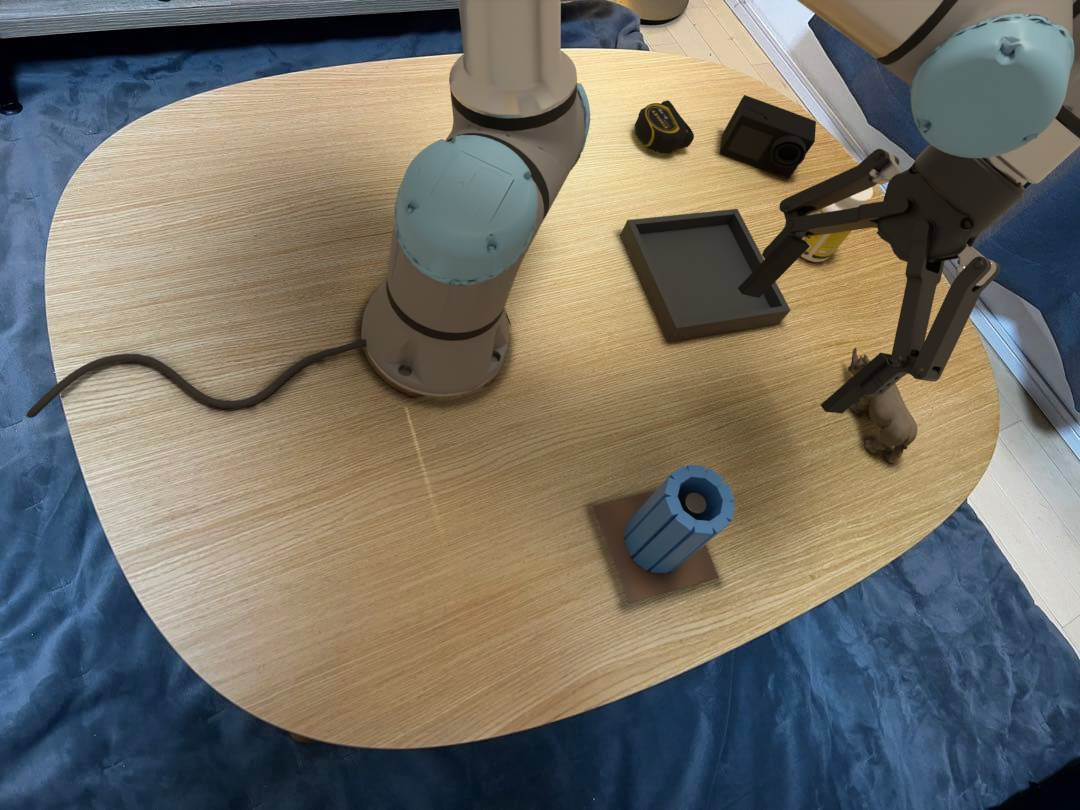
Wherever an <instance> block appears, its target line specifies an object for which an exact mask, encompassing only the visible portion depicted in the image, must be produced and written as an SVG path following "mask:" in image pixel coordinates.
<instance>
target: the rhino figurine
mask: <svg viewBox="0 0 1080 810" xmlns="http://www.w3.org/2000/svg"><path fill="white" fill-rule="evenodd" d="M871 360H872V359H871ZM871 360H870V359H869V357H868V356H867V354H863V355H860V356H859V357H858V353H857V346H855V347H854V348H853V349H852V355H851V361H850V365H848V367H847V371H848V373H849V374H850V375H851V376H852V377H853V376H854V375H855V374H856V373H857V372H859V371H860V370H861V369H862V368H863V367H864V366H865V365H867V364H868V363H869V362H870V361H871ZM868 406H869V407H868ZM867 407H868V408H867ZM866 408H867V412H868V414H869V419H870V420H871V422H872V423H873V424H874V426H876V427H877V428H878V429H880V430H879V433H878V439H875V440H874V439H870V438H868V439H866V440H865V442H864V444H865V445H864V447H865V449H866V450H868V451H869V452H870V453H874V454H875V453H877V452H878V451H884V450H886V449H887V447H888V448H889V447H893V450H888V451H885V453H884V457H885V459H886V460H887V462H889V463H890V464H895V463H896V462H897V460H898V459H900V458H901V457H902V455H903V452H904V450H908V447H909V446H910V445H911V444H912V443H913V442H914V441H915V440H916V438H917V435H918V425H917V422H916V420H915V418H914V417H913V415H912V413H911V412H910V411H909V410H908V409H909V408H907V405H906V403H905V401H904V399H903V397H902V394H901V392H900V389H899V388H898V385H897V382H896V383H895V384H894V385H893V386H891V387H890V388H889V389H887V391H885V392H884V393H883V394H881V395H878V396H869V395H867V394H865V395H864V396H862V397H861V398H860V399H859V400H858V401H857V402H855V403H854V404H853V405H852V406H851V407H849V409H850V410H851V411H853V413H857V414H860V413H862V412H863V410H864V409H866Z"/></svg>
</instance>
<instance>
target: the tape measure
mask: <svg viewBox="0 0 1080 810" xmlns="http://www.w3.org/2000/svg"><path fill="white" fill-rule="evenodd" d="M634 132H635V135H636V138H637V139H638V141H639V142H640V143H641V144H642V145H643V146H644V147H645V148H646V149H648V150H649V151H651V152H653V153H657V154H661V155H662V154H664V155H668V154H672V153H674V152H676V151H678V150H681V149H686V148H688V147H690V146H691V145H692V143H693V142H694V141H693V140H694V139H695V134H694V131H693V130H692V129H691V127H690V126H689V124H688V123H687V122H686V121H685V120H684V119H683V117H682V116H681V114H680V113H679V112H678V111H677V109H676V107H675V106H674V105H673V103H672V102H671V101H670V100H668V99H666V100H663V101H661V103H660V102H652V103H650V104H647V105H646V106H645V107H643V108H641V109H640V111H639V112H638V117H637V119H636V121H635V124H634Z"/></svg>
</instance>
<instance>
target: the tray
mask: <svg viewBox="0 0 1080 810" xmlns="http://www.w3.org/2000/svg"><path fill="white" fill-rule="evenodd" d="M619 236H620V238H621V240H622V242H623V244H624V247H625V250H626V252H627V254H628V256H629V259H630V261H631V262H632V265H633V268H634V270H635V272H636V274H637V277H638V278H639V281H640V282H641V285H642V288H643V291H644V292H645V294H646V296H647V299H648V301H649V303H650V306H651V308H652V310H653V312H654V315H655V317H656V320H657V321H658V323H659V326H660V329H661V330H662V333H663V335H664V337H665V339H666V341H667V342H674V341H680V340H681V341H682V340H686V339H687V340H688V339H692V338H693V339H694V338H698V337H699V338H700V337H704V336H705V337H706V336H712V335H717V334H718V335H719V334H722V333H729V332H736V331H742V330H749V329H754V328H760V327H766V326H773V325H778V324H780V323H782V321H783V320H784V319H785V318H786V317H787V316H788V315H789V313H790V312H792V311H791V310H792V309H790V306H789V304H788V302H787V301H786V298H785V297H784V295H783V293H782V291H781V289H780V286H778V283H777V281H776V282H775V283H774V284H773V285H772V286H771V287H770V288H769V289H768V290H767V291H766V292H765V293H764V294H763V295H762V296H761V297H760V298H756V297H752V296H748V295H744V294H741V292H740V291H739V289H738V287H739V286H740V285H741V284H742V283H743V282H744V281H745V280H746V279H747V278H748V277H749V276H750V275H751V274H752V272H753V271H754V270H755V269H756V268H757V267H758V266H759V265H760V264H761V263H762V262H763V261H764V260H765V258H764V257H763V256H762V253H761V251H760V249H759V247H758V245H757V243H756V241H755V240H754V237H753V235H752V233H751V231H750V230H749V228H748V226H747V224H746V222H745V220H744V218H743V216H742V215H741V213H740V211H739V208H732V209H722V210H712V211H702V212H693V213H683V214H673V215H663V216H652V217H643V218H634V219H627V220H626V221H625V224H624V226H623V228H622V229H621V232H620V235H619Z"/></svg>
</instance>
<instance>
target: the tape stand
mask: <svg viewBox="0 0 1080 810" xmlns="http://www.w3.org/2000/svg"><path fill="white" fill-rule="evenodd" d="M654 492H655V491H651V492H647V493H642V494H637V495H633V496H630V497H625V498H621V499H616V500H612V501H608V502H603V503H600V504H595V505H592V508H593V511H594V513H595V517H596V518H597V521H598V525H599V527H600V530H601V532H602V535H603V538H604V541H605V543H606V546H607V549H608V551H609V554H610V557H611V559H612V562H613V565H614V568H615V571H616V573H617V576H618V579H619V581H620V583H621V587H622V591H623V592H624V595H625V597H626V600H627V603H628V604H631V603H634V602H638V601H641V600H645V599H648V598H652V597H655V596H658V595H663V594H666V593H669V592H673V591H676V590H681V589H683V588H684V589H685V588H688V587H691V586H694V585H698V584H702V583H706V582H708V581H712V580H716V579H719V577H720V576H719V575H718V572H717V570H716V568H715V564H714V563H713V560H712V558H711V556H710V553H709V550H708V548H707V546H706V544H705V545H704V546H703V547H702V548H701V549H699V550H698V551H697V552H696V553H695V554H694V555H692V556H691V557H690V558H689V559H688V560H686V561H685V562H684V563H683V564H681V565H680V566H679V567H677V568H676V569H675V570H673V571H672V572H668V573H666V574H665V573H651V572H650V568H649V569H648V570H647V571H646V570H645V569H643V568H642V567H641V566H639V565H638V564H637V563H636V562H634V561H633V559H634V557H635V556H632V557H630V555H629V552H628V550H627V547H626V545H625V542H624V541H625V539H626V538H625V537H624V535H625V531H626V527H627V524H628V522H629V521H630V519H631V518H632V516H633V515H634V514H635V513H636V512H637V511H638V510H639V509H640V508H641V507H642V505H643V504H644V503H645V502H646V501H647V500H648V499H649V498H650V497H651V495H652V494H653V493H654ZM680 504H681V506H682V508H683V510H684V511H685V512H686V513H688V514H689V515H690V516H691V517H693V518H694V519H696V518H697V517H698V516H699V515H701V514H702V513H703V512H704V511H705V509H706V501H705V499H704V497H703V496H702V495H700V494H698V493H690V494H688V495H687V496H686V497H685V498H684V499H683V500H682V501H681V502H680Z"/></svg>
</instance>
